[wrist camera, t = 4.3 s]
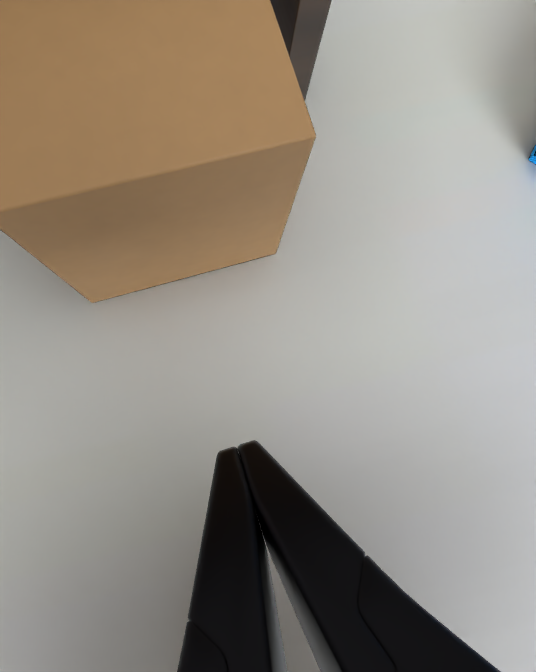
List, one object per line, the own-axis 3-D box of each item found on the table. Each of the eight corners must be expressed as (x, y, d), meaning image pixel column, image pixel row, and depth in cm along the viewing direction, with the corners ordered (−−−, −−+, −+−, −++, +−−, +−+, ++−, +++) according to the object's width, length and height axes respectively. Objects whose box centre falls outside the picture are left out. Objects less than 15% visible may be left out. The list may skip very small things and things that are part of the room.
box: (276, 253, 20) (317, 136, 12) (89, 304, 19) (-24, 216, 10) (211, 50, 22) (204, -198, 13) (31, 87, 20) (-114, -156, 12)
